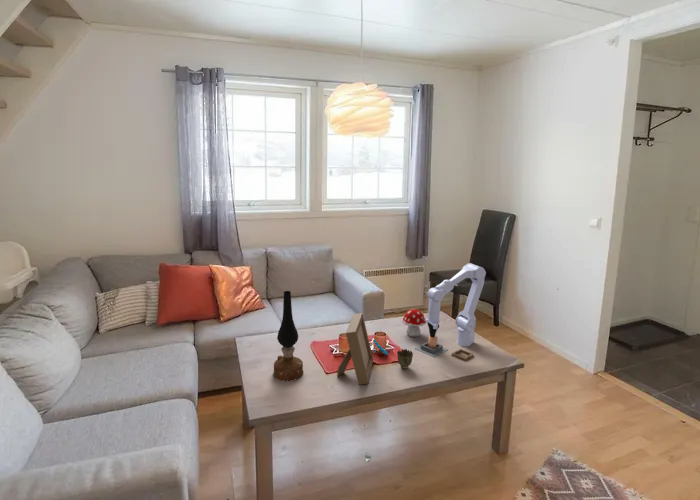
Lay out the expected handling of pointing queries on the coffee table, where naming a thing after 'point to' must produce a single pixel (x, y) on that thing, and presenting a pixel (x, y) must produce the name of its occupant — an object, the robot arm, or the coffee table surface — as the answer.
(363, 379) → the photo frame
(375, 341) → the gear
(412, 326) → the decorative mushroom
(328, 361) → the coffee table surface
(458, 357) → the holder
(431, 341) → the peg
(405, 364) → the cup
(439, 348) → the socket board
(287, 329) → the oil lamp
